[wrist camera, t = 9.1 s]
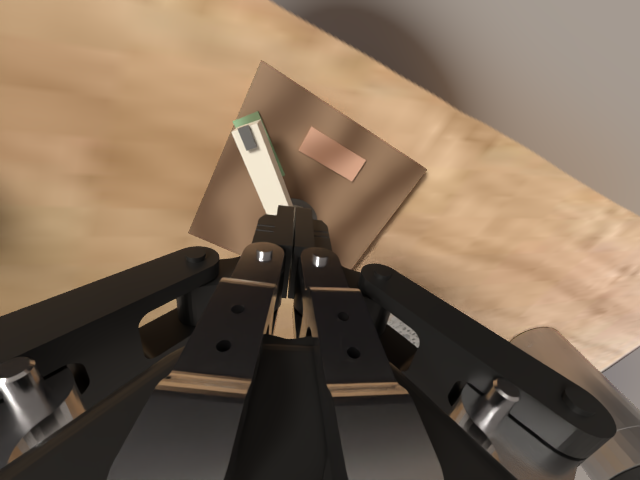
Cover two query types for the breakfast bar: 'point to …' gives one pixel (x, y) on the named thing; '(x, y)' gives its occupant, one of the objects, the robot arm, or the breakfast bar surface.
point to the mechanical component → (403, 330)
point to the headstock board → (307, 171)
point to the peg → (262, 166)
